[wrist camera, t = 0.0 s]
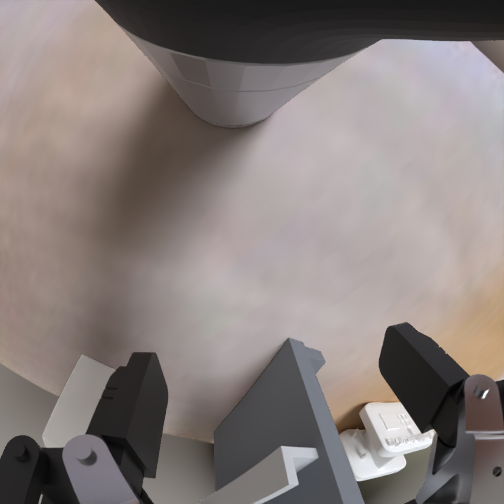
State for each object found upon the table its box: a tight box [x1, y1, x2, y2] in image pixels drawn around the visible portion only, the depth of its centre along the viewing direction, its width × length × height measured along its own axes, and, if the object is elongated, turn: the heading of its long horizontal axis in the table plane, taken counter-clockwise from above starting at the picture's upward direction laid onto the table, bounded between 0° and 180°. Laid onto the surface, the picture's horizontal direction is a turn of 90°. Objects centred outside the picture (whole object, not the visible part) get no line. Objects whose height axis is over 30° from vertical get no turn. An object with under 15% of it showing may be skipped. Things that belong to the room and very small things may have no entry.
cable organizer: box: [339, 402, 434, 481], centre depth 34 cm, size 15×11×12 cm
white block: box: [42, 354, 116, 448], centre depth 24 cm, size 5×11×14 cm, turn 63°
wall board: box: [196, 338, 364, 504], centre depth 21 cm, size 22×8×26 cm, turn 153°
